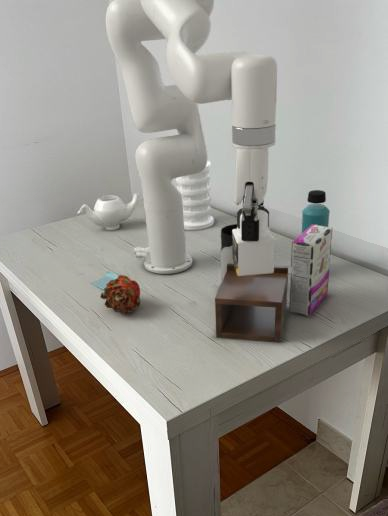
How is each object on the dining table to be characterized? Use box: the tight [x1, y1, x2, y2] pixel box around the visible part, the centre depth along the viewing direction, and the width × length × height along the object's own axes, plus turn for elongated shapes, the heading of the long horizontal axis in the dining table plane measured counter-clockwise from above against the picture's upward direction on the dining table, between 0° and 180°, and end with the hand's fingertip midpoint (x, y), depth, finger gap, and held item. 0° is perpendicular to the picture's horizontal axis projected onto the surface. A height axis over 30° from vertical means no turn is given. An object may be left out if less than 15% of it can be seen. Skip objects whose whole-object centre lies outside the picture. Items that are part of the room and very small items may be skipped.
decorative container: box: [175, 160, 215, 231], centre depth 164 cm, size 12×12×18 cm
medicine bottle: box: [232, 206, 276, 276], centre depth 105 cm, size 7×7×12 cm
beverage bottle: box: [300, 189, 331, 235], centre depth 130 cm, size 6×7×20 cm
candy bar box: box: [289, 225, 333, 317], centre depth 117 cm, size 11×5×16 cm, turn 148°
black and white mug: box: [220, 223, 237, 284], centre depth 127 cm, size 9×14×15 cm, turn 158°
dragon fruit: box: [100, 274, 141, 314], centre depth 122 cm, size 8×8×12 cm
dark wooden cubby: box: [214, 264, 289, 343], centre depth 113 cm, size 13×14×10 cm
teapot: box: [77, 192, 141, 231], centre depth 167 cm, size 10×20×9 cm, turn 112°
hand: (253, 232), depth 105 cm, fingers closed on medicine bottle, 6 cm apart
